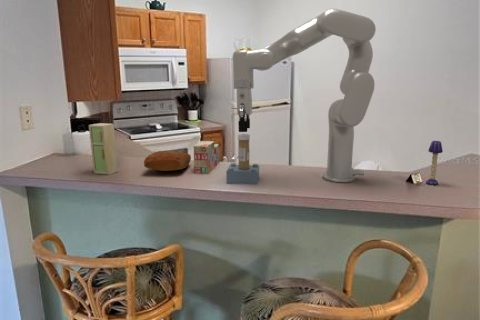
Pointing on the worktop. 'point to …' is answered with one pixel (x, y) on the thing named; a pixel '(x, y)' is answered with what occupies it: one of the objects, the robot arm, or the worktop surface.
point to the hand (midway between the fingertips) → (244, 129)
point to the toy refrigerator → (103, 148)
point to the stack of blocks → (205, 157)
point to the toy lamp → (434, 161)
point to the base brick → (242, 174)
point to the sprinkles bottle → (243, 151)
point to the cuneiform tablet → (167, 161)
